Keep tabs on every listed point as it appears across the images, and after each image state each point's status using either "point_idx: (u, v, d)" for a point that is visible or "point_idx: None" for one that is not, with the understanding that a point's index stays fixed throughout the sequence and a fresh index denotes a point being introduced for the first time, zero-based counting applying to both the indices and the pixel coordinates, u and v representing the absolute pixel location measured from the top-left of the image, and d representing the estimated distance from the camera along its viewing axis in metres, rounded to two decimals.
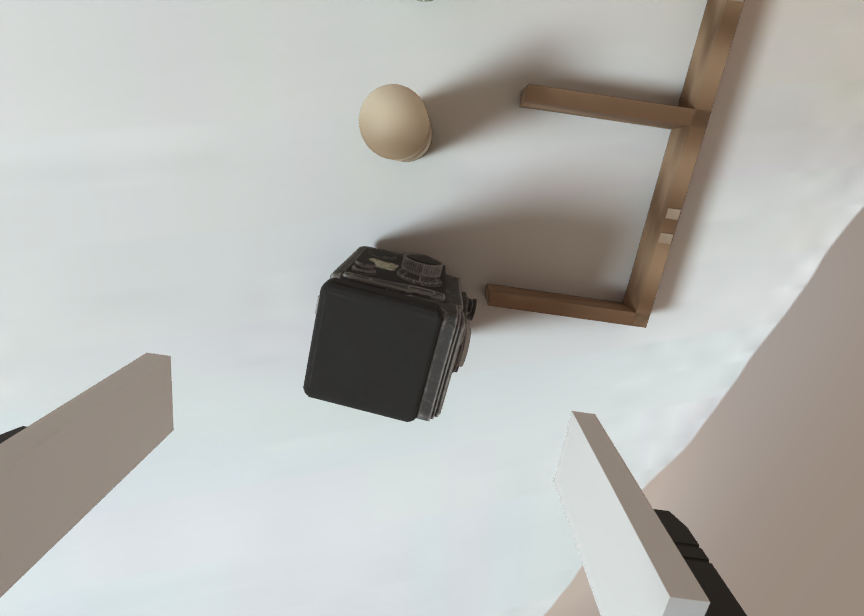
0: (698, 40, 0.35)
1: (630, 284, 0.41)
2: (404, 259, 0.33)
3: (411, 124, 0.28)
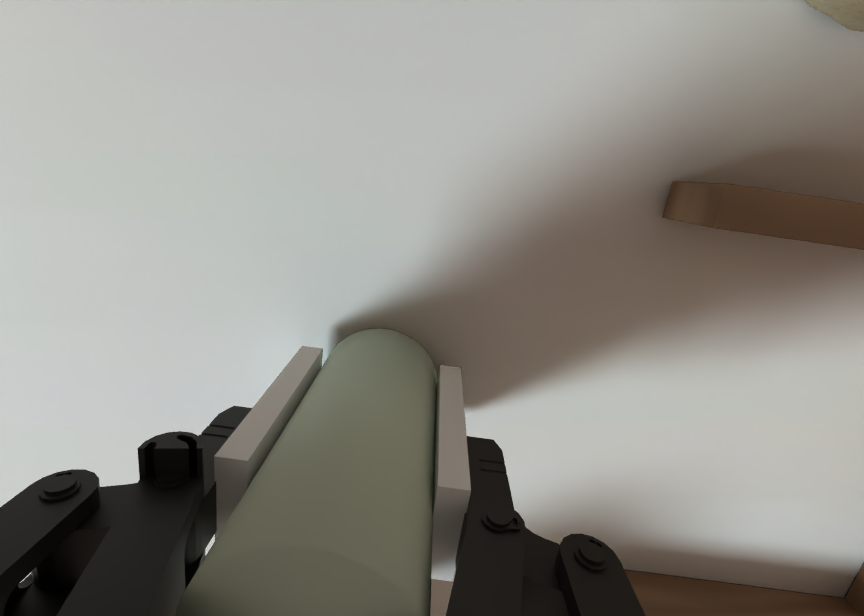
0: None
1: None
2: None
3: None
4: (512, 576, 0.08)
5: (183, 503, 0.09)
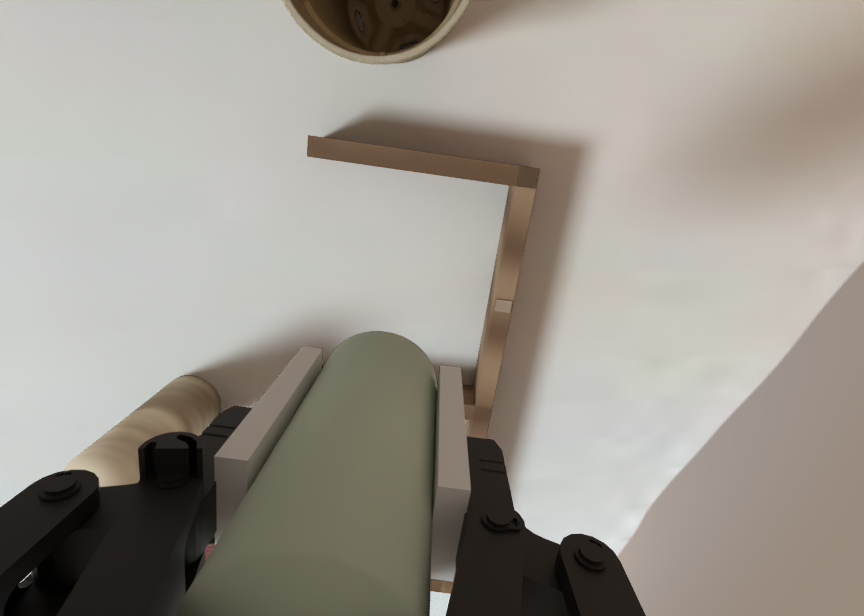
0: (484, 323, 0.33)
1: None
2: None
3: None
4: (512, 576, 0.08)
5: (183, 503, 0.09)
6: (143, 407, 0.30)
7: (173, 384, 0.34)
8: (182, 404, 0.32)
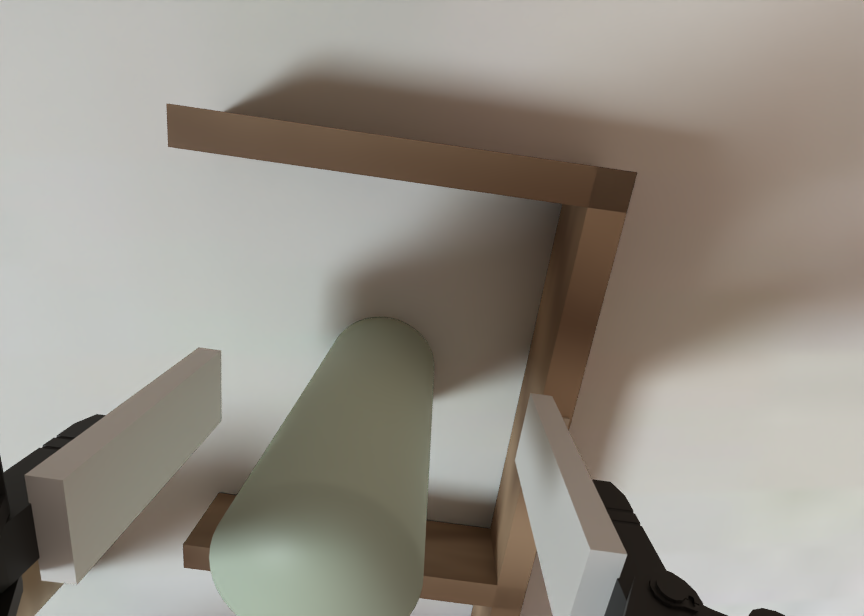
0: (512, 436, 0.19)
1: None
2: None
3: None
4: None
5: None
6: None
7: None
8: None
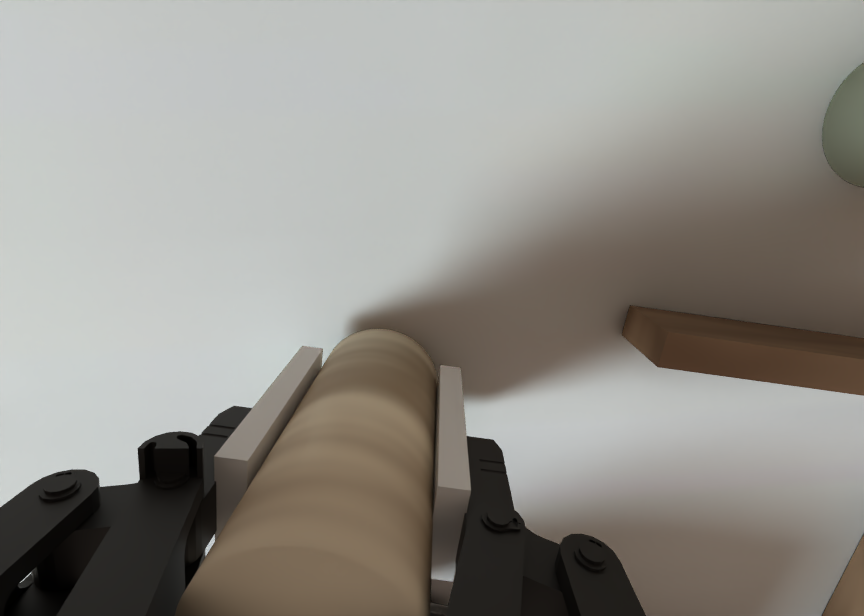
0: None
1: None
2: None
3: None
4: (512, 576, 0.08)
5: (183, 503, 0.09)
6: (336, 390, 0.12)
7: (361, 343, 0.15)
8: (408, 385, 0.13)
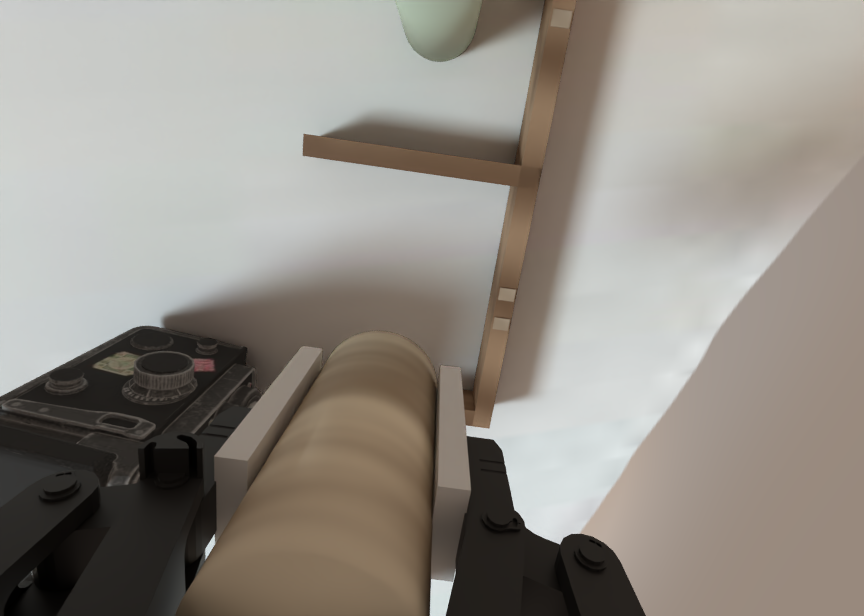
0: (531, 75, 0.27)
1: (477, 369, 0.33)
2: None
3: None
4: (512, 576, 0.08)
5: (183, 503, 0.09)
6: (335, 393, 0.12)
7: (361, 346, 0.15)
8: (408, 388, 0.13)
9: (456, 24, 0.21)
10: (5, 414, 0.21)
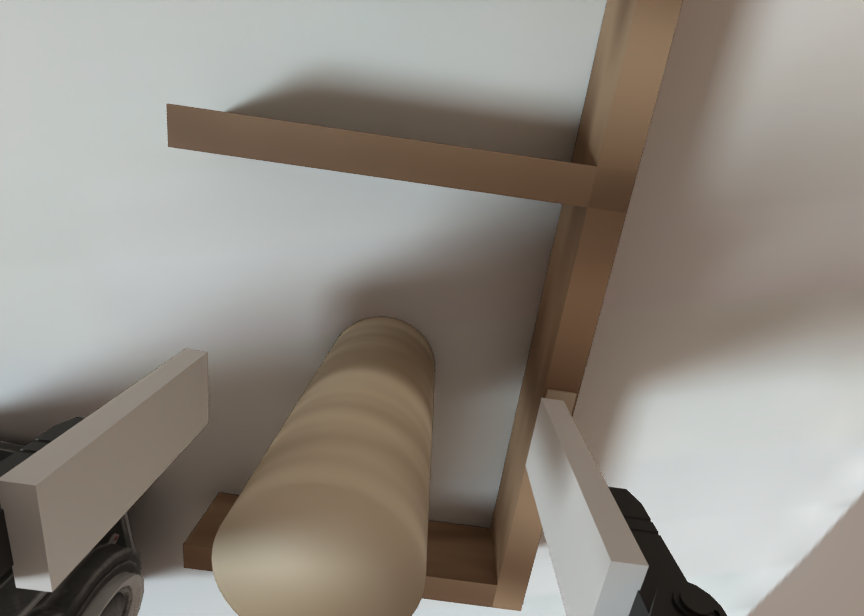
0: None
1: (498, 500, 0.20)
2: None
3: (372, 578, 0.09)
4: None
5: None
6: (344, 367, 0.14)
7: (365, 329, 0.17)
8: (409, 365, 0.15)
9: None
10: None
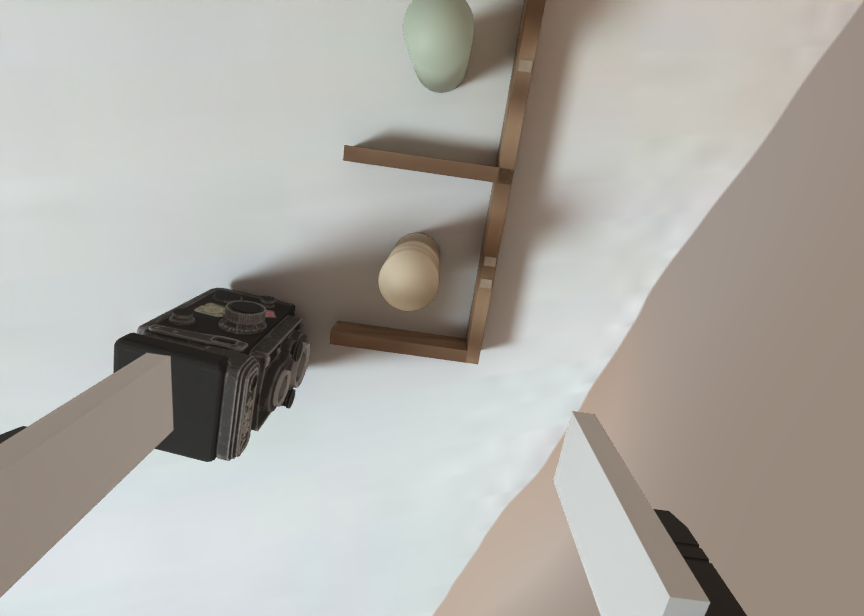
0: (507, 102, 0.38)
1: (469, 322, 0.43)
2: (226, 308, 0.36)
3: (423, 283, 0.33)
4: None
5: None
6: (407, 241, 0.37)
7: (411, 235, 0.40)
8: (430, 244, 0.38)
9: (452, 74, 0.31)
10: (151, 333, 0.32)
